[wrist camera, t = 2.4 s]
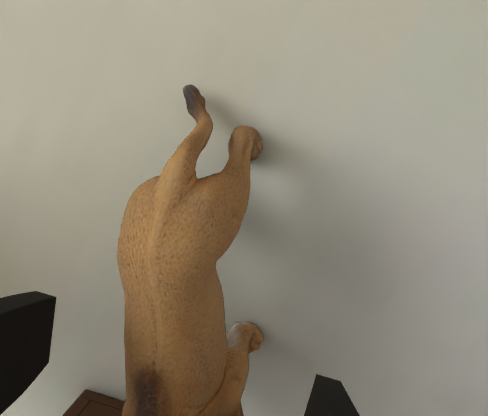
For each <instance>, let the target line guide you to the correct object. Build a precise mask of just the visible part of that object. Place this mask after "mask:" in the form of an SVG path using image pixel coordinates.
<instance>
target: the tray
mask: <svg viewBox="0 0 488 416" xmlns="http://www.w3.org/2000/svg"><path fill="white" fill-rule="evenodd" d="M124 404H125V403H124V402H121V401H118V400H115V399H112V398H109V397H106V396H103V395H99V394H96V393H93V392H90V391H87V390H84V392H83V393H82V394H81V395H80V396H79V397H78V398H77V400H76V401H75V402H74V403H73V404H72V405H71V406H70V408H69V409H68V410H67V411H66V412H65V413H64V414H63V416H122V411H123V406H124Z"/></svg>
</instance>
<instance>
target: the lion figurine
mask: <svg viewBox="0 0 488 416" xmlns="http://www.w3.org/2000/svg"><path fill="white" fill-rule="evenodd" d="M183 93H184V97H185V99H186V103H187V109H188V112H189V114H190V115H191V116H192V117H193V118H194V119H195V120H196V122H197V125H196V127H195V128H194V130H193V131H192V132H191V133H190V134H189V135H188V136H187V137H186V138H185V139H184V140H183V142H182V143H181V144H180V146H179V147H178V148H177V150H176V151H175V153H174V154H173V155H172V157H171V158H170V159H169V161H168V162H167V164H166V165H165V167H164V169H163V171H162V173H161V175H160V176H156V177H154V178H152V179H149V180H147V181H146V182H144V183H143V184H141V185H140V186H139V187H138V188H137V189H136V190H135V191H134V192H133V194H132V195H131V197H130V199H129V201H128V204H127V206H126V209H125V212H124V216H123V220H122V224H121V229H120V236H119V239H118V246H117V260H118V267H119V271H120V275H121V280H122V284H123V289H124V294H125V331H124V344H125V370H126V401H125V404H124V406H123V411H122V416H244V415H243V411H242V406H241V396H242V393H243V390H244V387H245V384H246V380H247V375H248V370H249V357H248V353H251V352H252V351H255V350H258V349H259V347H260V345H261V343H262V342H263V340H264V336H263V334H262V333H261V331H260V330H259V329H258V328H257V327H256V326H255V325H253V324H252V323H250V322H237V323H235V324H234V325H233V326H232V328H231V330H230V331H229V333H228V334H227V337H226V327H225V313H224V300H223V293H222V288H221V284H220V281H219V278H218V274H217V271H216V261H217V260H218V259H219V258H220V257H221V256H222V255H223V254H224V252H225V251H226V250H227V249H228V248H229V246H230V244H231V243H232V241H233V240H234V238H235V237H236V235H237V233H238V231H239V229H240V225H241V222H242V219H243V216H244V214H245V212H246V209H247V205H248V200H249V193H250V161H252V160H254V159H256V158H257V157H258V155H259V154H260V153H261V152H262V149H263V144H262V139H261V136H260V134H259V132H258V131H257V130H255V129H254V128H252V127H249V126H238V127H236V128H235V129H234V131H233V133H232V134H231V137H230V140H229V160H228V162H227V164H226V166H225V167H224V169H223V170H222V171H221V172H219V173H216V174H213V175H210V176H207V177H204V178H200V179H197V178H196V171H195V166H196V161H197V158H198V156H199V154H200V153H201V151H202V150H203V149H204V148H205V146H206V144H207V142H208V140H209V137H210V135H211V132H212V129H213V123H212V120H211V118H210V115H209V114H208V113H207V111H206V109H205V98H204V97H203V96H202V95H201V94H200V92H199V90H198V89H197V88H196V87H195V86H193V85H187V86H185V87H184V88H183Z"/></svg>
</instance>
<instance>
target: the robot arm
mask: <svg viewBox="0 0 488 416" xmlns="http://www.w3.org/2000/svg"><path fill="white" fill-rule="evenodd" d="M55 304H56V297H54V296H51V295H47V294H44V293H41V292H37V291H34V292H27V293H22V294H17V295H12V296H7V297H3V298H0V415H1V414H2V413H3V412H4V411H5V410H6V409H7V408H8V407H9V406H10V405H11V404H12V403H13V402H14V401H16V400H17V399H18V398H19V397H20V396H21V395H22V394H23V392H24V391H25V390H26V389H27V388H28V387H29V386H30V384H31V383H32V382H33V381H34V380H35V379H36V377H37V376H38V375H39V374H40V372H41V371H42V370H43V369H44V367H45V366H46V365H47V364H48V363H49V355H50V347H51V338H52V330H53V321H54V313H55ZM304 416H360V415H359V414H358V412H357V410H356V408H355V406H354V405H353V403H352V401H351V399H350V397H349V396H348V394H347V392H346V390H345V388H344V387H343V385H342V383H341V381H338V380H335V379H331V378H328V377H324V376H321V375H318V374H316V377H315V381H314V384H313V387H312V391H311V394H310V398H309V401H308V404H307V408H306V411H305V414H304Z"/></svg>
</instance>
